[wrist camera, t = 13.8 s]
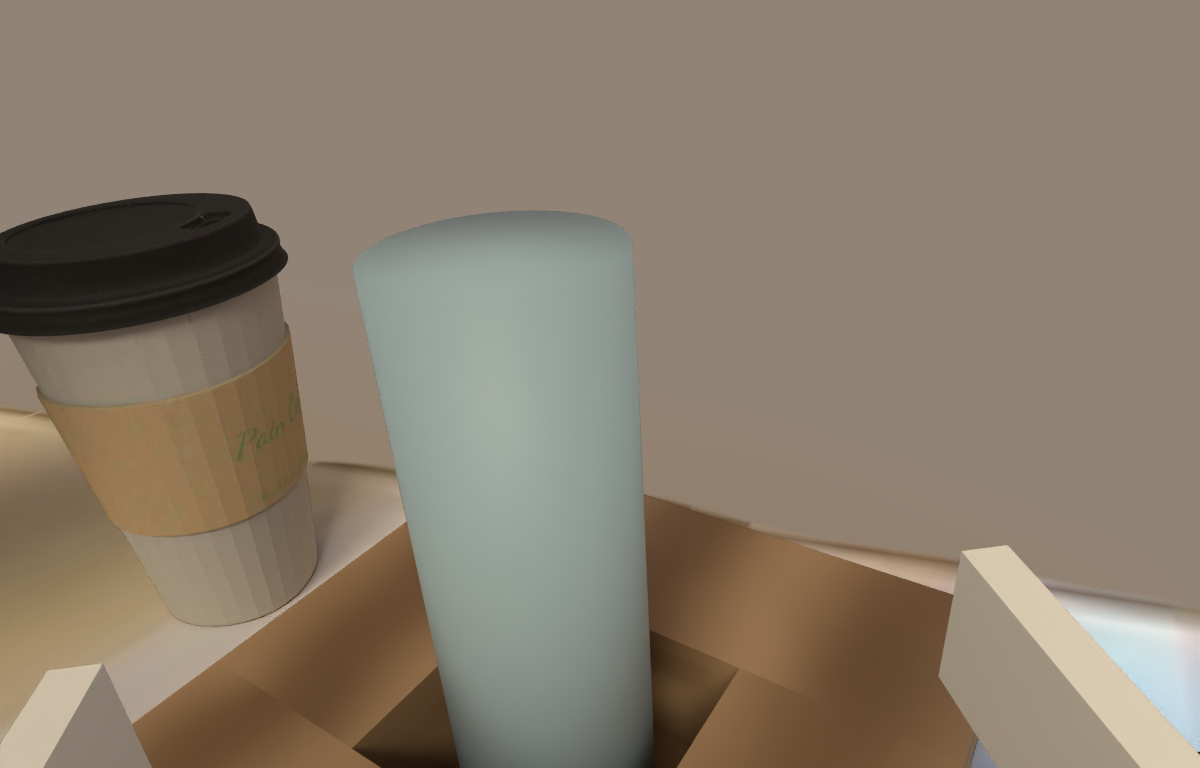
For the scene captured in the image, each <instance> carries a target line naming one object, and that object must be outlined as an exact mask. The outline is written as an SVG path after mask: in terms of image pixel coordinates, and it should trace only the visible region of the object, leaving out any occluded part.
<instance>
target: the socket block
mask: <svg viewBox="0 0 1200 768" xmlns="http://www.w3.org/2000/svg"><path fill="white" fill-rule="evenodd" d="M643 496H644V519H645V542H646V566H647V589H648V612H649V635H650V659H651V682H652V705H653V728H654V752H655V768H970V765H971V762H972V758H973V755H974V751H975V747H976V744H977V740H978V737H977V735H976V734H975V732H974V731H973V729H972V727H971V726H970V724H969V723H968V721H967V720H966V718H965V717H964V715H963V714H962V712H961V710H960V709H959V707H958V706H957V704H956V703H955V701H954V700H953V698H952V696H951V695H950V693H949V692H948V690H947V689H946V687H945V686H944V684H943V682H942V681H941V679H940V678H939V676H938V675H939V670H940V665H941V659H942V654H943V649H944V643H945V638H946V633H947V627H948V622H949V617H950V611H951V606H952V600H953V595H952V594H949V593H945V592H942V591H939V590H936V589H933V588H930V587H927V586H924V585H921V584H918V583H915V582H912V581H909V580H905V579H902V578H899V577H896V576H893V575H890V574H887V573H884V572H881V571H878V570H875V569H872V568H869V567H865V566H862V565H859V564H856V563H853V562H850V561H847V560H844V559H841V558H838V557H835V556H832V555H829V554H825V553H822V552H819V551H816V550H813V549H810V548H807V547H804V546H801V545H798V544H795V543H792V542H789V541H785V540H782V539H779V538H776V537H773V536H770V535H767V534H764V533H761V532H758V531H755V530H752V529H749V528H745V527H742V526H739V525H736V524H733V523H730V522H727V521H724V520H721V519H718V518H715V517H712V516H709V515H705V514H702V513H699V512H696V511H693V510H690V509H687V508H684V507H681V506H678V505H675V504H672V503H669V502H665V501H662V500H659V499H656V498H653V497H650V496H647V495H644V494H643ZM132 726H133V728H134V730H135V733H136V735H137V737H138V739H139V741H140V743H141V745H142V747H143V750H144V752H145V754H146V756H147V758H148V760H149V762H150V764H151V766H152V768H460V766H459V761H458V757H457V752H456V748H455V743H454V738H453V734H452V729H451V724H450V720H449V715H448V710H447V706H446V701H445V697H444V692H443V687H442V683H441V678H440V673H439V669H438V664H437V659H436V655H435V650H434V646H433V641H432V636H431V632H430V627H429V622H428V618H427V613H426V608H425V604H424V599H423V595H422V590H421V585H420V581H419V576H418V571H417V567H416V562H415V557H414V553H413V548H412V544H411V539H410V534H409V530H408V525H407V522H405V523H404V524H403V525H401V526H400V527H399V528H397V529H396V530H395V531H393V532H392V533H391V534H389V535H388V536H386V537H385V538H384V539H382V540H381V541H380V542H378V543H377V544H376V545H374V546H373V547H372V548H370V549H369V550H368V551H366V552H365V553H363V554H362V555H361V556H359V557H358V558H357V559H355V560H354V561H353V562H351V563H350V564H349V565H347V566H346V567H345V568H343V569H342V570H340V571H339V572H338V573H336V574H335V575H334V576H332V577H331V578H330V579H328V580H327V581H326V582H324V583H323V584H322V585H320V586H319V587H317V588H316V589H315V590H313V591H312V592H311V593H309V594H308V595H307V596H305V597H304V598H303V599H301V600H300V601H299V602H297V603H296V604H294V605H293V606H292V607H290V608H289V609H288V610H286V611H285V612H284V613H282V614H281V615H280V616H278V617H277V618H275V619H274V620H273V621H271V622H270V623H269V624H267V625H266V626H265V627H263V628H262V629H261V630H259V631H258V632H257V633H255V634H254V635H252V636H251V637H250V638H248V639H247V640H246V641H244V642H243V643H242V644H240V645H239V646H238V647H236V648H235V649H234V650H232V651H231V652H229V653H228V654H227V655H225V656H224V657H223V658H221V659H220V660H219V661H217V662H216V663H215V664H213V665H212V666H211V667H209V668H208V669H206V670H205V671H204V672H202V673H201V674H200V675H198V676H197V677H196V678H194V679H193V680H192V681H190V682H189V683H187V684H186V685H185V686H183V687H182V688H181V689H179V690H178V691H177V692H175V693H174V694H173V695H171V696H170V697H169V698H167V699H166V700H164V701H163V702H162V703H160V704H159V705H158V706H156V707H155V708H154V709H152V710H151V711H150V712H148V713H147V714H146V715H144V716H143V717H141V718H140V719H139V720H137V721H136V722H135V723H133V724H132Z"/></svg>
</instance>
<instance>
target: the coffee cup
mask: <svg viewBox="0 0 1200 768" xmlns="http://www.w3.org/2000/svg"><path fill="white" fill-rule="evenodd" d="M287 261H288V255H287V253H286V251H285V250H284V249H282V247H281V246H280V239H279V236H278V234H277V233H276V232H275V231H274V230H273V229H271V228H270V227H268V226H265V225H263V224H259V223H258V222H257V220H256V217H255V215H254V212H253V210H252V208H251V206H250V204H249V203H248V202H247V201H246V200H245V199H242V198H240V197H236V196H232V195H224V194H210V193H191V194H190V193H188V194H170V195H159V196H150V197H141V198H133V199H126V200H120V201H114V202H109V203H102V204H98V205H92V206H88V207H82V208H78V209H74V210H70V211H65V212H62V213H58V214H54V215H50V216H47V217H43V218H40V219H36V220H33V221H30V222H27V223H24V224H22V225H19V226H16V227H14V228H11V229H9V230H7V231H5V232H2V233H0V333H3V334H8V335H9V336H10V338H11V340H12V342H13V343H14V345H15V347H16V349H17V350H18V352H19V354H20V356H21V357H22V359H23V361H24V362H25V364H26V366H27V368H28V369H29V371H30V373H31V375H32V376H33V378H34V380H35V381H36V383H37V387H36V389H37V394H38V398H39V399H40V401H41V403H42V405H43V406H44V408H45V410H46V411H47V413H48V415H49V417H50V418H51V420H52V422H53V423H54V425H55V427H56V429H57V430H58V432H59V434H60V435H61V437H62V439H63V441H64V442H65V444H66V446H67V447H68V449H69V451H70V452H71V454H72V456H73V458H74V459H75V461H76V463H77V464H78V466H79V468H80V470H81V471H82V473H83V475H84V476H85V478H86V480H87V482H88V483H89V485H90V487H91V488H92V490H93V492H94V494H95V495H96V497H97V499H98V500H99V502H100V504H101V505H102V507H103V509H104V511H105V512H106V514H107V516H108V517H109V519H110V521H111V522H112V523H113V524H114V525H115V526H117V527H118V528H119V529H121V530H122V532H123V534H124V535H125V537H126V539H127V540H128V542H129V544H130V545H131V547H132V549H133V551H134V552H135V554H136V556H137V557H138V559H139V561H140V562H141V564H142V566H143V568H144V569H145V571H146V573H147V574H148V576H149V578H150V579H151V581H152V583H153V585H154V586H155V588H156V590H157V591H158V593H159V595H160V596H161V598H162V600H163V602H164V603H165V605H166V607H167V608H168V610H169V611H170V613H172V614H173V615H174V616H175V617H176V618H177V619H179V620H181V621H183V622H185V623H188V624H193V625H198V626H213V627H214V626H227V625H233V624H238V623H244V622H247V621H250V620H254V619H257V618H260V617H262V616H264V615H267V614H269V613H271V612H273V611H275V610H277V609H278V608H280V607H281V606H283V605H285V604H286V603H287V602H289V601H290V600H291V599H292V598H293V597H295V596H296V595H297V594H298V593H299V592H300V591H301V590H302V588H303V587H304V586H305V585H306V584H307V582H308V581H309V579H310V578H311V576H312V575H313V572H314V570H315V567H316V564H317V557H318V552H317V545H316V538H315V531H314V524H313V517H312V510H311V502H310V495H309V488H308V481H307V474H306V465H307V460H308V453H307V446H306V440H305V433H304V426H303V419H302V412H301V406H300V398H299V391H298V384H297V377H296V370H295V363H294V357H293V349H292V343H291V335H290V331H289V326H288V324H286V322H284V318H283V311H282V304H281V297H280V291H279V284H278V277H277V274H278V273H279V272H280V271H281V270H282V269H283V268H284V266H285V265H286V263H287Z"/></svg>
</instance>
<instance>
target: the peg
mask: <svg viewBox="0 0 1200 768" xmlns="http://www.w3.org/2000/svg"><path fill="white" fill-rule="evenodd" d="M633 265H634V263H633V243H632V237H631V236H630V234H629V233H628V232H627V231H626V230H625V229H624V228H623V227H621V226H619V225H617V224H615V223H613V222H610V221H608V220H605V219H602V218H598V217H594V216H590V215H584V214H578V213H570V212H559V211H508V212H494V213H484V214H477V215H470V216H463V217H457V218H452V219H447V220H442V221H437V222H433V223H429V224H425V225H421V226H418V227H415V228H411V229H408V230H406V231H403V232H400V233H397V234H395V235H392V236H390V237H387V238H385V239H383V240H381V241H379V242H378V243H375V244H374V245H372V246H371V247H369V248H368V249H366V250H365V251H364V252H363V253H361V254H360V255H359V257H358V258H357V259H356V261H355V263H354V265H353V274H354V279H355V283H356V288H357V293H358V298H359V302H360V306H361V312H362V316H363V321H364V325H365V330H366V335H367V339H368V344H369V349H370V353H371V358H372V362H373V367H374V372H375V376H376V381H377V386H378V390H379V395H380V400H381V404H382V409H383V414H384V418H385V423H386V427H387V432H388V436H389V441H390V446H391V450H392V455H393V460H394V465H395V469H396V474H397V479H398V483H399V488H400V493H401V497H402V502H403V506H404V511H405V516H406V520H407V525H408V530H409V534H410V539H411V544H412V548H413V553H414V557H415V562H416V567H417V571H418V576H419V581H420V585H421V590H422V595H423V599H424V604H425V608H426V613H427V618H428V622H429V627H430V632H431V636H432V641H433V646H434V650H435V655H436V659H437V664H438V669H439V673H440V678H441V683H442V687H443V692H444V697H445V701H446V706H447V710H448V715H449V720H450V724H451V729H452V734H453V738H454V743H455V748H456V752H457V757H458V761H459V766H460V768H655V752H654V728H653V705H652V682H651V659H650V635H649V612H648V589H647V566H646V542H645V519H644V496H643V474H642V451H641V427H640V403H639V380H638V357H637V333H636V310H635V286H634V266H633Z"/></svg>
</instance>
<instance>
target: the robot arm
mask: <svg viewBox="0 0 1200 768" xmlns="http://www.w3.org/2000/svg"><path fill="white" fill-rule="evenodd" d="M938 676H939V678H940V679H941V681H942V682H943V684H944V686H945V687H946V689H947V690H948V692H949V693H950V695H951V696H952V698H953V700H954V701H955V703H956V704H957V706H958V707H959V709H960V710H961V712H962V714H963V715H964V717H965V718H966V720H967V721H968V723H969V724H970V726H971V727H972V729H973V731H974V732H975V734H976V735H977V737H978V738H979V740H980V741H981V743H982V745H983V746H984V748H985V749H986V751H987V752H988V754H989V755H990V757H991V759H992V760H993V762H994V763H995V765H996V766H997V768H1200V752H1196V751H1195V749H1194V748H1193V747H1192V746H1191V745H1190V744H1189V743H1188V742H1187V741H1186V740H1185V739H1184V737H1183V736H1182V735H1181V734H1180V733H1179V732H1178V731H1177V730H1176V729H1175V728H1174V727H1173V725H1172V724H1171V723H1170V722H1169V721H1168V720H1167V719H1166V718H1165V717H1164V716H1163V715H1162V713H1161V712H1160V711H1159V710H1158V709H1157V708H1156V707H1155V706H1154V705H1153V704H1152V703H1151V701H1150V700H1149V699H1148V698H1147V697H1146V696H1145V695H1144V694H1143V693H1142V692H1141V691H1140V689H1139V688H1138V687H1137V686H1136V685H1135V684H1134V683H1133V682H1132V681H1131V680H1130V679H1129V677H1128V676H1127V675H1126V674H1125V673H1124V672H1123V671H1122V670H1121V669H1120V668H1119V667H1118V665H1117V664H1116V663H1115V662H1114V661H1113V660H1112V659H1111V658H1110V657H1109V656H1108V655H1107V653H1106V652H1105V651H1104V650H1103V649H1102V648H1101V647H1100V646H1099V645H1098V644H1097V643H1096V641H1095V640H1094V639H1093V638H1092V637H1091V636H1090V635H1089V634H1088V633H1087V632H1086V630H1085V629H1084V628H1083V627H1082V626H1081V625H1080V624H1079V623H1078V622H1077V621H1076V620H1075V618H1074V617H1073V616H1072V615H1071V614H1070V613H1069V612H1068V611H1067V610H1066V609H1065V608H1064V606H1063V605H1062V604H1061V603H1060V602H1059V601H1058V600H1057V599H1056V598H1055V597H1054V596H1053V594H1052V593H1051V592H1050V591H1049V590H1048V589H1047V588H1046V587H1045V586H1044V585H1043V584H1042V582H1041V581H1040V580H1039V579H1038V578H1037V577H1036V576H1035V575H1034V574H1033V573H1032V572H1031V570H1030V569H1029V568H1028V567H1027V566H1026V565H1025V564H1024V563H1023V562H1022V561H1021V560H1020V558H1019V557H1018V556H1017V555H1016V554H1015V553H1014V552H1013V551H1012V550H1011V549H1010V548H1009V546H1008V545H1005V546H998V547H991V548H983V549H975V550H967V551H962V552H961V558H960V563H959V568H958V574H957V579H956V584H955V590H954V595H953V600H952V606H951V611H950V617H949V622H948V627H947V633H946V638H945V643H944V649H943V654H942V659H941V665H940V670H939V675H938ZM0 768H152V766H151V764H150V762H149V760H148V758H147V756H146V754H145V752H144V750H143V747H142V745H141V743H140V741H139V739H138V737H137V735H136V733H135V730H134V728H133V726H132V724H131V722H130V720H129V718H128V716H127V714H126V711H125V709H124V707H123V705H122V703H121V701H120V699H119V697H118V695H117V692H116V690H115V688H114V686H113V684H112V682H111V680H110V678H109V675H108V673H107V671H106V669H105V667H104V665H103V663H102V664H94V665H86V666H79V667H71V668H63V669H56V670H48V671H47V673H46V674H45V676H44V677H43V679H42V680H41V682H40V683H39V685H38V686H37V688H36V690H35V691H34V693H33V694H32V696H31V697H30V699H29V700H28V702H27V704H26V705H25V707H24V708H23V710H22V711H21V713H20V714H19V716H18V718H17V719H16V721H15V722H14V724H13V725H12V727H11V728H10V730H9V731H8V733H7V735H6V736H5V738H4V739H3V741H2V742H1V744H0Z"/></svg>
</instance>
